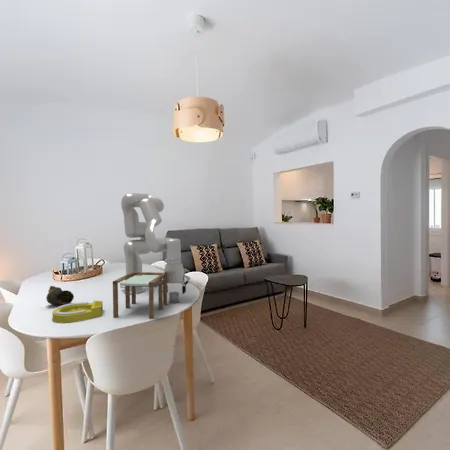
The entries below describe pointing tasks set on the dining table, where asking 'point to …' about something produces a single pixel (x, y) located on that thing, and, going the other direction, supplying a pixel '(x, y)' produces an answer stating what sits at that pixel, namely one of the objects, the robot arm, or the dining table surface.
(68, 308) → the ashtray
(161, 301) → the frame
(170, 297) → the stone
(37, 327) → the dining table surface
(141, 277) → the pale green flat block
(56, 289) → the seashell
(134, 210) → the robot arm
